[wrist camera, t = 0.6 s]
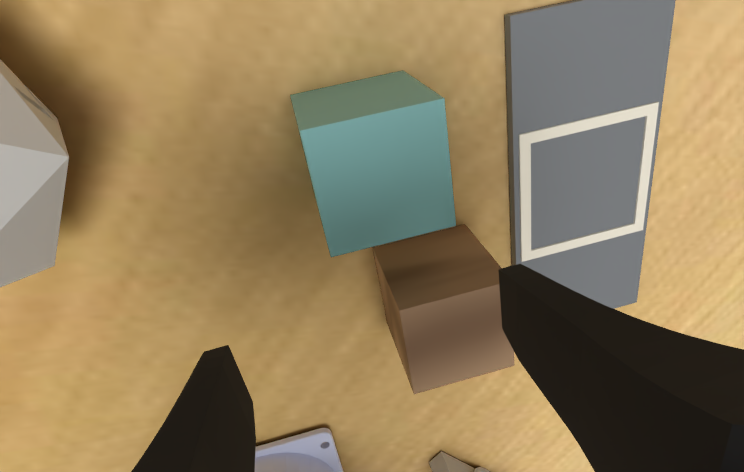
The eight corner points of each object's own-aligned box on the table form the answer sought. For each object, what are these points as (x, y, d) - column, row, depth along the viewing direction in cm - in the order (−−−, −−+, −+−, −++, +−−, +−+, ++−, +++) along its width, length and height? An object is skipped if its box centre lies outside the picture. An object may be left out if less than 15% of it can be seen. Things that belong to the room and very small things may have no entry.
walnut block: (470, 299, 26) (514, 365, 21) (386, 321, 25) (413, 394, 21) (464, 223, 23) (511, 280, 19) (372, 246, 23) (399, 310, 19)
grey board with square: (630, 297, 28) (637, 303, 27) (513, 329, 27) (518, 336, 27) (668, -20, 20) (679, -20, 19) (504, 14, 19) (511, 16, 19)
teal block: (416, 175, 22) (456, 225, 17) (315, 199, 21) (330, 257, 17) (402, 70, 19) (444, 98, 15) (289, 94, 19) (299, 130, 15)
